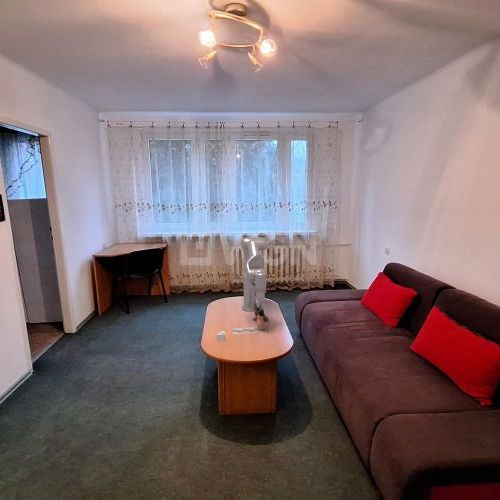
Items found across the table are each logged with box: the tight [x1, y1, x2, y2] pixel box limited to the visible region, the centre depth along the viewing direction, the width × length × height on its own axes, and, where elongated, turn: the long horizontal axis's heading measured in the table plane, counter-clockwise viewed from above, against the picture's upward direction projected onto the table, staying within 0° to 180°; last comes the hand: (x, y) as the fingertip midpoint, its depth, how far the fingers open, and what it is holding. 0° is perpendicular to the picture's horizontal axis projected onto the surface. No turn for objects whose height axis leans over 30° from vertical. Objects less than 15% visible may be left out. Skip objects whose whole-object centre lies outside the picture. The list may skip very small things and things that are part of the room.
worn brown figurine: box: [252, 299, 269, 323], centre depth 240 cm, size 12×6×18 cm, turn 94°
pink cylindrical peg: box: [256, 314, 265, 331], centre depth 224 cm, size 4×4×12 cm
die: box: [216, 330, 226, 342], centre depth 211 cm, size 5×5×5 cm
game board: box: [231, 326, 269, 335], centre depth 224 cm, size 11×25×1 cm, turn 98°
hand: (260, 313), depth 223 cm, fingers open, 9 cm apart
